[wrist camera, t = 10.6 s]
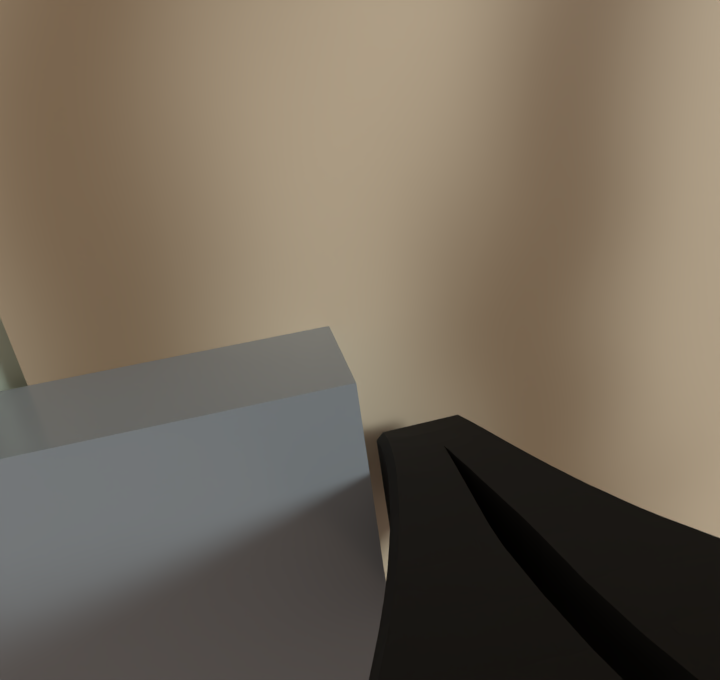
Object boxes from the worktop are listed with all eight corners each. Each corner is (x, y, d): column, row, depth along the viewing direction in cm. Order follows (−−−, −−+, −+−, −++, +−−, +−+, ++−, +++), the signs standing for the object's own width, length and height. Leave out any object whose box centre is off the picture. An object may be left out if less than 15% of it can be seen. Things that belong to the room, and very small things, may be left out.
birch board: (874, -102, 11) (1079, -166, 9) (754, 680, 20) (841, 774, 17) (-30, 16, 9) (-134, -19, 7) (258, 841, 17) (265, 979, 15)
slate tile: (328, 325, 9) (356, 382, 7) (371, 584, 11) (400, 680, 9) (-33, 397, 8) (-104, 481, 6) (81, 660, 10) (51, 781, 8)
